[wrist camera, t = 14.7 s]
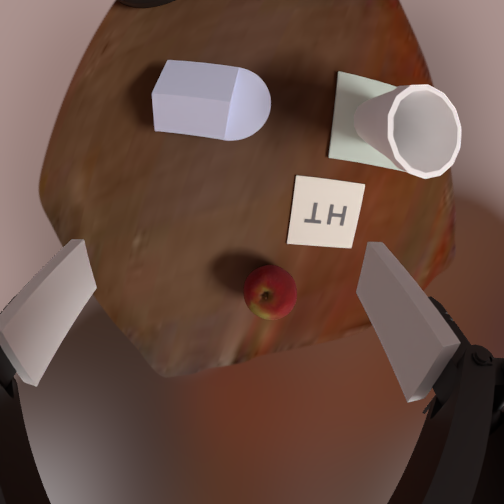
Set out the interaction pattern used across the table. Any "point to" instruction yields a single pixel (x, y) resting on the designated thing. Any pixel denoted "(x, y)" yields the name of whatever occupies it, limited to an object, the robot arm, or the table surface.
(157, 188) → the table surface
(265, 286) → the apple
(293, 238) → the cream card
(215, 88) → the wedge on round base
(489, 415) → the robot arm
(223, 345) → the table surface
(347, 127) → the sage mat
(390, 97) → the foam cup
